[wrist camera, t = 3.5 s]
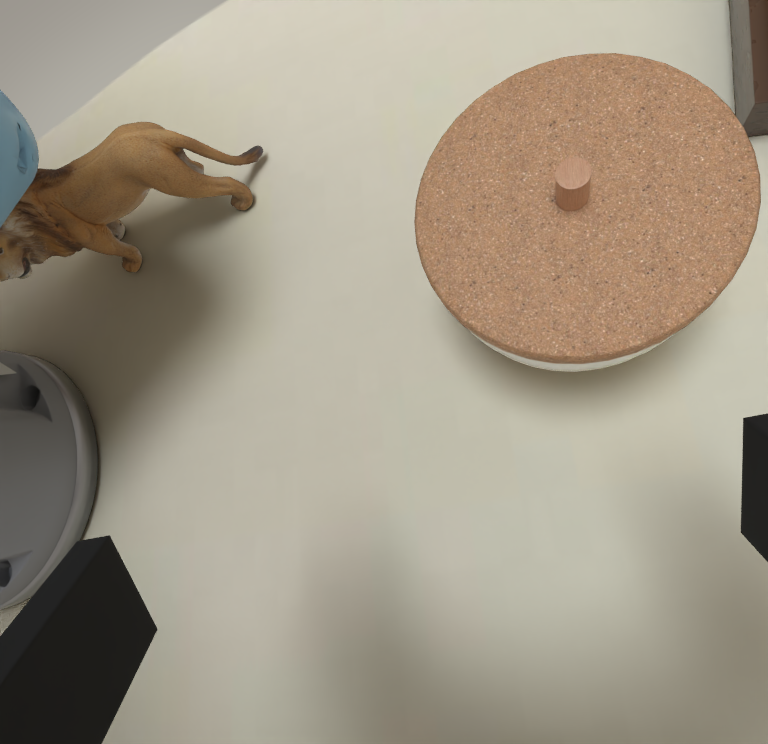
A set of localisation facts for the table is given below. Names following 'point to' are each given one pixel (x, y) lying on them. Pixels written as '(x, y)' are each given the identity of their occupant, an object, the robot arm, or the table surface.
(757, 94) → the holder
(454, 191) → the lidded bowl
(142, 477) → the table surface
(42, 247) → the lion figurine
